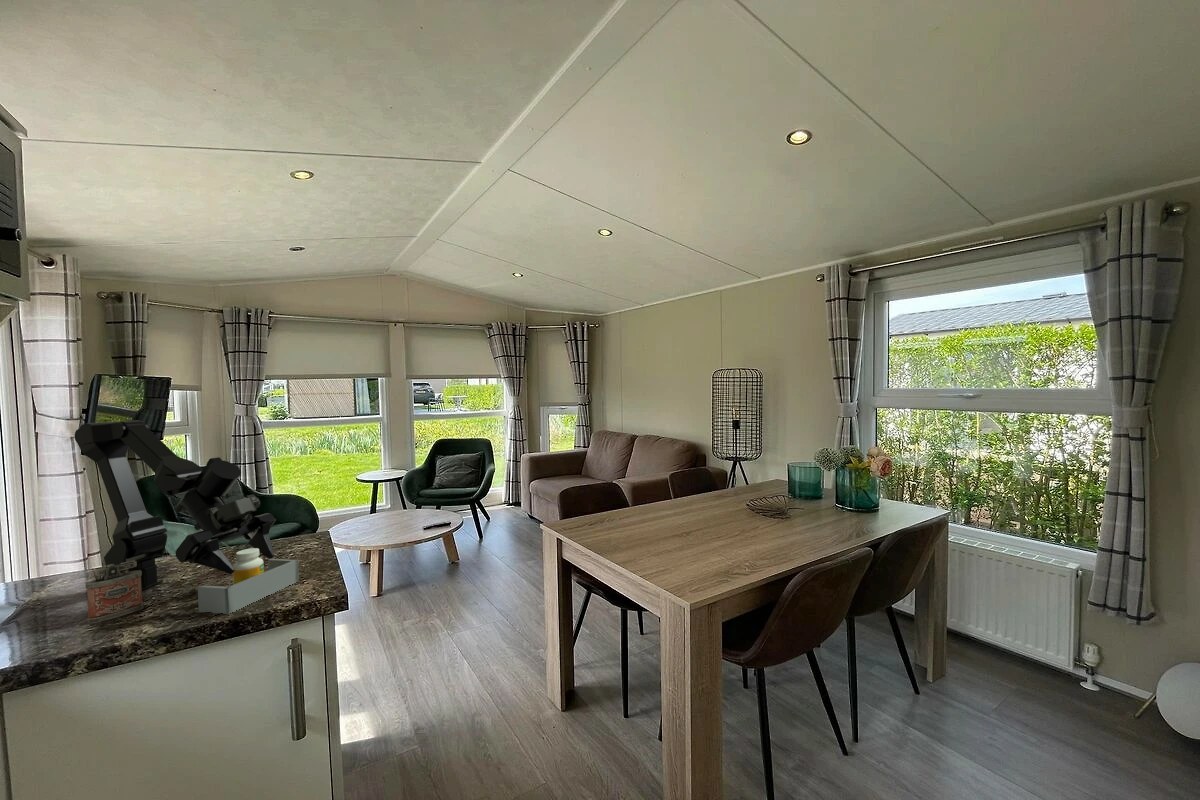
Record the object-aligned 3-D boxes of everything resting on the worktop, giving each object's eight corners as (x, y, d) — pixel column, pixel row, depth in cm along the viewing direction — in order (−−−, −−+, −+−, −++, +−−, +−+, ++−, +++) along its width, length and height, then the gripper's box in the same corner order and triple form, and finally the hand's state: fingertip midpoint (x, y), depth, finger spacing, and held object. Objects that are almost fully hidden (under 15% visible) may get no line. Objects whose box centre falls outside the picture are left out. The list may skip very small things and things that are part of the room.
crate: (198, 611, 97) (197, 586, 97) (272, 580, 114) (271, 558, 114) (229, 614, 96) (227, 588, 96) (298, 581, 112) (297, 559, 112)
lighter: (90, 624, 93) (87, 572, 93) (85, 621, 95) (82, 569, 95) (146, 608, 100) (143, 559, 100) (140, 605, 102) (137, 557, 102)
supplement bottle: (233, 595, 105) (231, 550, 105) (263, 588, 109) (261, 545, 109) (234, 603, 101) (232, 556, 101) (266, 595, 104) (264, 550, 104)
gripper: (183, 494, 96) (232, 552, 94) (267, 478, 115) (310, 526, 112) (154, 533, 98) (201, 591, 96) (241, 511, 116) (282, 559, 114)
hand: (253, 564), depth 104 cm, fingers open, 9 cm apart
